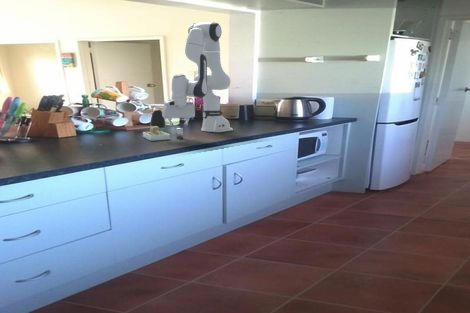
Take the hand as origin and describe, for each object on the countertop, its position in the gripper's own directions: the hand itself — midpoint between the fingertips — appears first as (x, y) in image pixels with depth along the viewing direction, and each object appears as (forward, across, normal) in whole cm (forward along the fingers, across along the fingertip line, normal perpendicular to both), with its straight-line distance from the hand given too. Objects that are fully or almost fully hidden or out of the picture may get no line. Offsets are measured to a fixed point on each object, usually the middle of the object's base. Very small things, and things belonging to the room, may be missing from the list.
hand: (178, 125), depth 220 cm
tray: (+8, +12, -6) cm, 16 cm away
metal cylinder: (+8, -1, 0) cm, 8 cm away
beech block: (+8, +12, -9) cm, 17 cm away
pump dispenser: (+8, +3, -27) cm, 28 cm away
